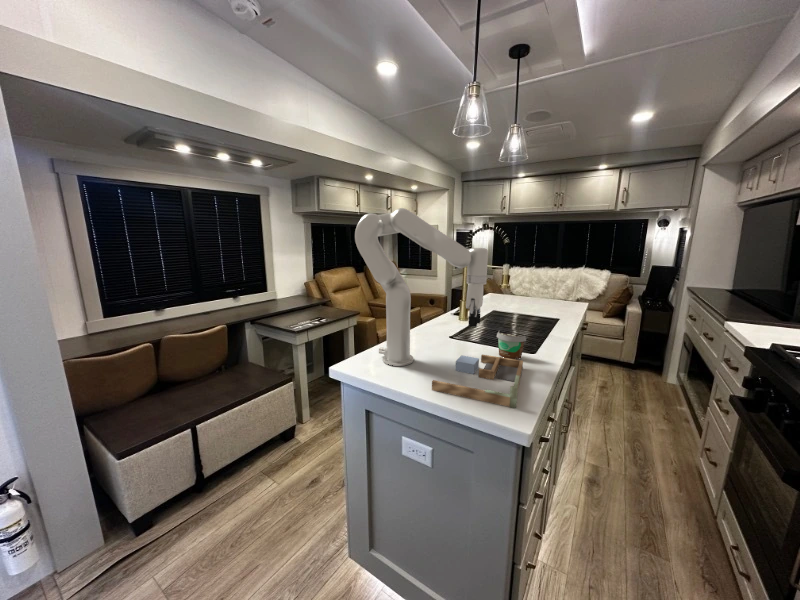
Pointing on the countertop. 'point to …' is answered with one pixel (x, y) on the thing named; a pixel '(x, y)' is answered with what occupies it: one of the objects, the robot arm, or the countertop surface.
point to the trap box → (506, 371)
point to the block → (467, 364)
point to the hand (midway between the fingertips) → (474, 324)
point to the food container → (510, 345)
